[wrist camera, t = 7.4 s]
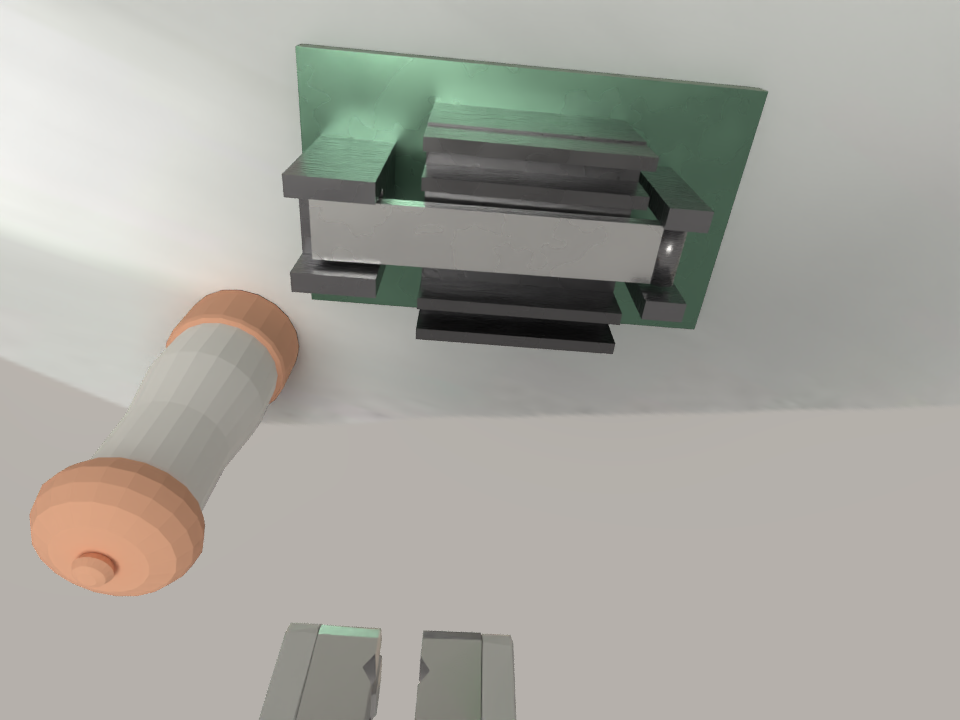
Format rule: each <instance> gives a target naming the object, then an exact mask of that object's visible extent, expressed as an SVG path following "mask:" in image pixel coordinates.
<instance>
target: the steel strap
mask: <svg viewBox="0 0 960 720" xmlns="http://www.w3.org/2000/svg"><path fill="white" fill-rule="evenodd" d="M309 213H310V229H311V245H312V259H316V260H330V261H343V262H357V263H371V264H385V265H398V266H412V267H426V268H439V269H453V270H467V271H481V272H494V273H508V274H522V275H536V276H549V277H563V278H577V279H591V280H604V281H618V282H632V283H646V284H651V285H654V286H658V287H670V286H672V285H673V283H674V279H675V275H676V272H677V268H678V265H679V261H680V257H681V254H682V250H683V247H684V243H685V239H686V236H687V232H685V231H674V230H664V228H663V227H662V226H661V224H660V223H659V221H658V220H649V219H636V218H624V217H611V216H598V215H586V214H573V213H561V212H548V211H535V210H523V209H510V208H497V207H485V206H472V205H460V204H447V203H434V202H422V201H409V200H397V199H384V198H378V200H377V202H376V205H370V204H358V203H347V202H335V201H323V200H312V199H309Z"/></svg>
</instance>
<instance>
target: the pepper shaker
mask: <svg viewBox="0 0 960 720" xmlns="http://www.w3.org/2000/svg"><path fill="white" fill-rule="evenodd" d="M298 349H299V344H298V339H297V334H296V331H295V329H294V327H293V325H292V324H291V322H290V320H289V318H288V317H287V316H286V315H285V314H284V313H283V312H282V311H281V310H280V309H279V308H278V307H277V306H276V305H275V304H273V303H271V302H270V301H268V300H266V299H264V298H263V297H261V296H259V295H256V294H252V293H249V292H245V291H241V290H222V291H219V292H216V293H213V294H209V295H207V296H205V297H204V298H203V299H202V300H200V301H199V302H198V303H197V304H195V305H194V306H193V308H192V309H191V310H190V311H189V312H188V313H187V315H186V316H185V317H184V318H183V319H182V320H181V321H180V323H179V324H178V325H177V326H176V327H175V328H174V330H173V331H172V333H171V335H170V337H169V339H168V341H167V343H166V349H165V350H164V351H163V353H162V354H161V355H160V356H159V357H158V358H157V359H156V360H155V361H154V362H153V363H152V364H151V366H150V367H149V369H148V371H147V373H146V375H145V377H144V379H143V381H142V383H141V385H140V387H139V389H138V391H137V393H136V395H135V397H134V399H133V401H132V403H131V405H130V407H129V409H128V411H127V413H126V415H125V416H124V417H123V418H122V420H121V421H120V422H119V423H118V425H117V426H116V427H115V429H114V430H113V431H112V432H111V434H110V435H109V436H108V437H107V439H106V440H105V441H104V443H103V444H102V445H101V446H100V448H99V449H98V450H97V451H96V453H95V454H94V455H93V456H92V458H91V459H90V460H88V461H84V462H80V463H77V464H74V465H72V466H69V467H68V468H66V469H64V470H62V471H61V472H59V473H57V474H56V475H55V476H53V477H52V478H51V479H49V480H48V481H47V482H46V483H44V484H43V485H42V487H41V489H40V491H39V493H38V496H37V498H36V500H35V502H34V505H33V507H32V509H31V512H30V526H31V537H32V545H33V547H34V548H35V550H36V552H37V554H38V555H39V557H40V559H41V560H42V561H43V562H44V563H45V564H46V565H47V566H48V567H49V568H50V569H52V570H53V571H54V572H55V573H56V574H58V575H60V576H61V577H63V578H64V579H66V580H68V581H69V582H71V583H73V584H75V585H77V586H80V587H83V588H86V589H88V590H91V591H93V592H97V593H103V594H108V595H113V596H139V595H143V594H148V593H152V592H155V591H157V590H159V589H161V588H163V587H164V586H167V585H168V584H170V583H172V582H174V581H175V580H177V579H178V578H180V577H182V576H183V575H184V574H185V573H186V572H187V571H188V570H189V568H190V567H191V566H192V565H193V564H194V563H195V561H196V560H197V558H198V557H199V555H200V554H201V553H202V548H203V540H204V529H205V524H204V517H203V514H202V510H203V508H204V506H205V504H206V503H207V501H208V499H209V497H210V495H211V493H212V491H213V489H214V488H215V486H216V484H217V482H218V480H219V478H220V476H221V475H222V472H223V471H224V469H225V467H226V466H227V465H228V464H229V462H230V461H231V460H232V459H233V457H234V456H235V455H236V454H237V452H238V451H239V450H240V449H241V448H242V446H243V445H244V444H245V443H246V441H247V440H248V439H249V438H250V437H251V435H252V434H253V433H254V431H255V430H256V428H257V427H258V425H259V424H260V422H261V420H262V418H263V416H264V413H265V411H266V409H267V406H268V404H270V403H271V402H273V401H274V400H275V399H276V398H277V396H278V395H279V393H280V392H281V390H282V389H283V387H284V385H285V383H286V381H287V379H288V377H289V375H290V373H291V371H292V368H293V366H294V364H295V362H296V360H297V354H298Z"/></svg>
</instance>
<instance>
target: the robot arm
mask: <svg viewBox="0 0 960 720" xmlns="http://www.w3.org/2000/svg"><path fill="white" fill-rule="evenodd" d="M381 641H382V636H381V629H380V628H379V629H378V628H364V627H349V626H332V625H322V624H308V623H291V624H290V626H289V627H288V629H287V631H286V633H285V636H284V640H283V643H282V646H281V649H280V652H279V656H278V659H277V662H276V665H275V669H274V672H273V675H272V678H271V682H270V685H269V688H268V691H267V694H266V698H265V701H264V704H263V707H262V711H261V714H260V718H259V720H372V719H373V718H374V717H375V716H376V713H377V706H378V699H379V690H380V681H381V667H382V656H381V655H380V648H381ZM419 681H420V683H419V684H418V690H417V702H416V712H415V720H516V705H515V704H516V703H515V677H514V652H513V641H512V638H511V636H510V635H498V634H497V635H496V634H482V635H481V633H472V632H446V631H423V640H422V649H421V660H420V677H419Z"/></svg>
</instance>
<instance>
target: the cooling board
mask: <svg viewBox="0 0 960 720" xmlns="http://www.w3.org/2000/svg"><path fill="white" fill-rule="evenodd" d="M296 61H297V76H298V92H299V107H300V123H301V138H302V155H301V156H300V157H299V158H298V159H297V160H296V161H295V162H294V163H293V164H292V165H291V166H290V167H289V168H288V169H287V170H286V171H285V172H284V173H283V174H282V180H283V192H284V197H288V198H299V207H300V221H301V235H302V250H303V253H302V255H301V256H300V258H299V259H298V261H297V263H296V264H295V266H294V267H293V269H292V270H291V272H290V277H291V289H292V292H303V293H312V299H315V300H328V301H340V302H353V303H366V304H379V305H391V306H404V307H417V309H420V311H419V316H418V321H417V327H416V339H422V340H435V341H448V342H462V343H475V344H488V345H501V346H514V347H527V348H540V349H553V350H566V351H580V352H593V353H606V354H613V351H614V347H615V342H614V339H613V336H612V334H611V331H610V328H609V325H608V324H616V325H620V324H633V325H646V326H659V327H671V328H684V329H695V325H696V322H697V319H698V316H699V312H700V309H701V306H702V303H703V300H704V296H705V293H706V290H707V287H708V284H709V280H710V277H711V274H712V271H713V268H714V264H715V261H716V258H717V255H718V251H719V248H720V245H721V242H722V239H723V235H724V232H725V229H726V226H727V223H728V219H729V216H730V213H731V210H732V206H733V203H734V200H735V197H736V194H737V190H738V187H739V184H740V181H741V178H742V174H743V171H744V168H745V165H746V162H747V158H748V155H749V152H750V149H751V145H752V142H753V139H754V136H755V133H756V129H757V126H758V123H759V120H760V117H761V113H762V110H763V107H764V104H765V101H766V97H767V94H768V91H766V90H763V89H761V88H755V87H745V86H734V85H724V84H713V83H703V82H693V81H682V80H672V79H662V78H651V77H641V76H631V75H620V74H610V73H599V72H589V71H579V70H568V69H558V68H548V67H537V66H527V65H517V64H506V63H496V62H485V61H475V60H465V59H454V58H444V57H434V56H423V55H413V54H403V53H392V52H382V51H371V50H361V49H351V48H340V47H330V46H320V45H309V44H300V45H297V46H296ZM378 198H384V199H397V200H409V201H422V202H434V203H447V204H460V205H472V206H485V207H497V208H510V209H523V210H535V211H548V212H561V213H573V214H586V215H598V216H611V217H624V218H636V219H649V220H658V221H659V223H660V224H661V226H662V227H663V228H664V230H674V231H685V232H687V236H686V239H685V243H684V247H683V250H682V254H681V257H680V261H679V265H678V268H677V272H676V275H675V279H674V283H673V285H672V286H670V287H658V286H654V285H651V284H646V283H632V282H618V281H604V280H591V279H577V278H563V277H549V276H536V275H522V274H508V273H494V272H481V271H467V270H453V269H439V268H426V267H412V266H398V265H385V264H371V263H357V262H343V261H330V260H316V259H312V245H311V229H310V213H309V199H312V200H323V201H335V202H347V203H358V204H370V205H376V202H377V200H378Z"/></svg>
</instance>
